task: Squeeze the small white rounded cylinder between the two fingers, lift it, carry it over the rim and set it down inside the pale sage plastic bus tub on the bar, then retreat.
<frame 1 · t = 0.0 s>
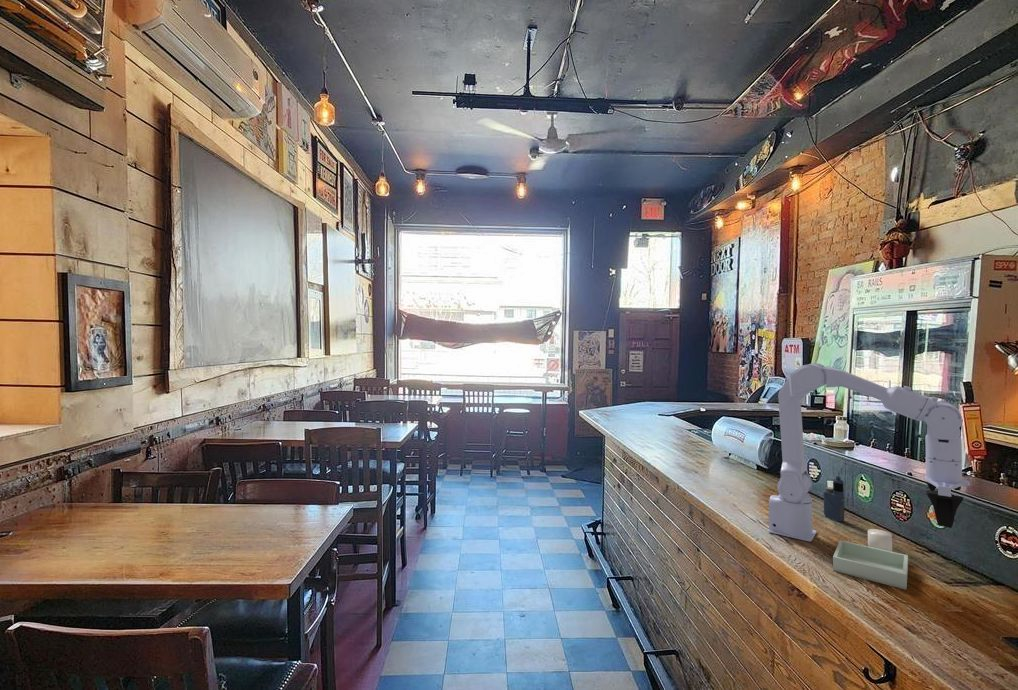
hand: (944, 520, 100), 10 cm above the table, tool pointing down, fingers open, 7 cm apart
white rounded cylinder: (880, 554, 106), on the table
vaping device: (834, 519, 128), on the table
bus tub: (870, 569, 99), on the table
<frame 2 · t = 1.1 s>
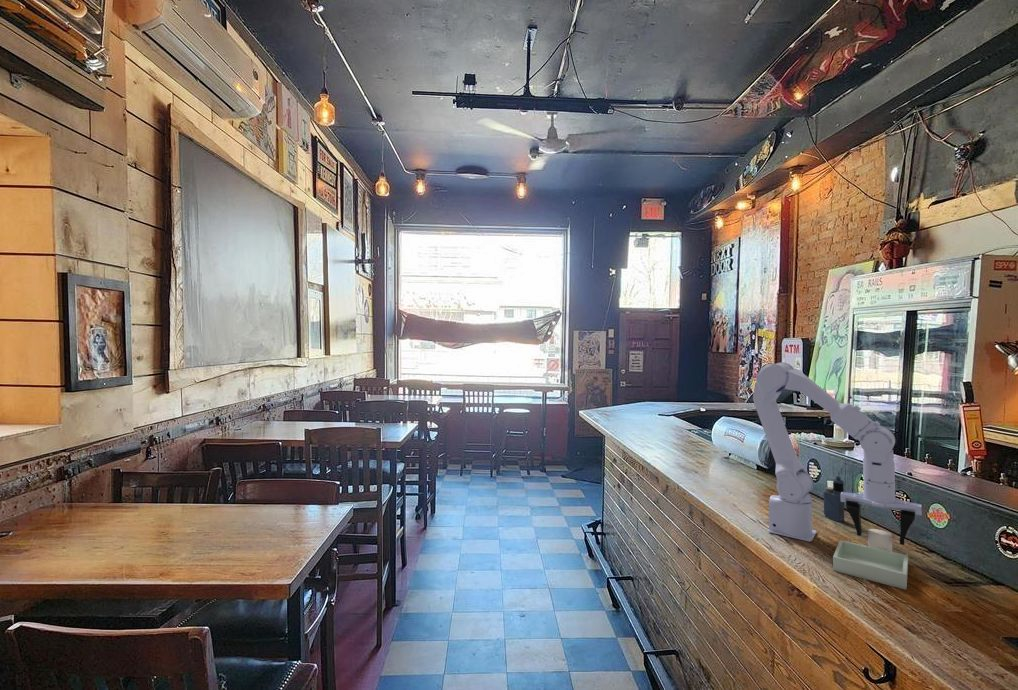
hand: (880, 538, 106), 4 cm above the table, tool pointing down, fingers open, 7 cm apart
nothing on the table moved.
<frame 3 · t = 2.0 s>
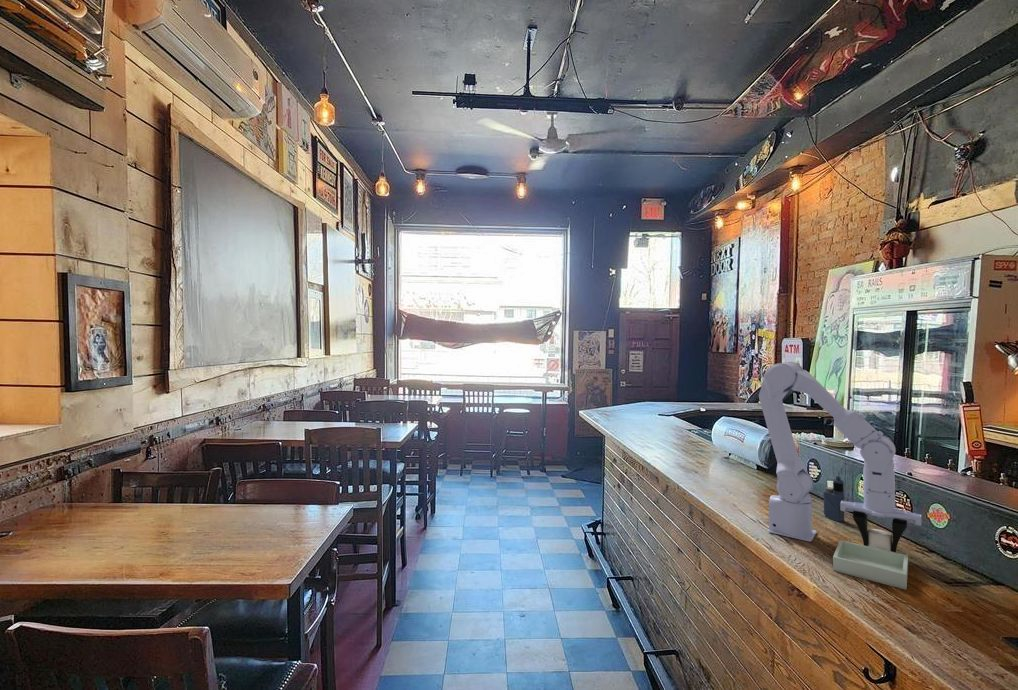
hand: (879, 548, 106), 1 cm above the table, tool pointing down, fingers closed on white rounded cylinder, 4 cm apart
white rounded cylinder: (880, 554, 106), on the table, touching gripper
everything else where it was.
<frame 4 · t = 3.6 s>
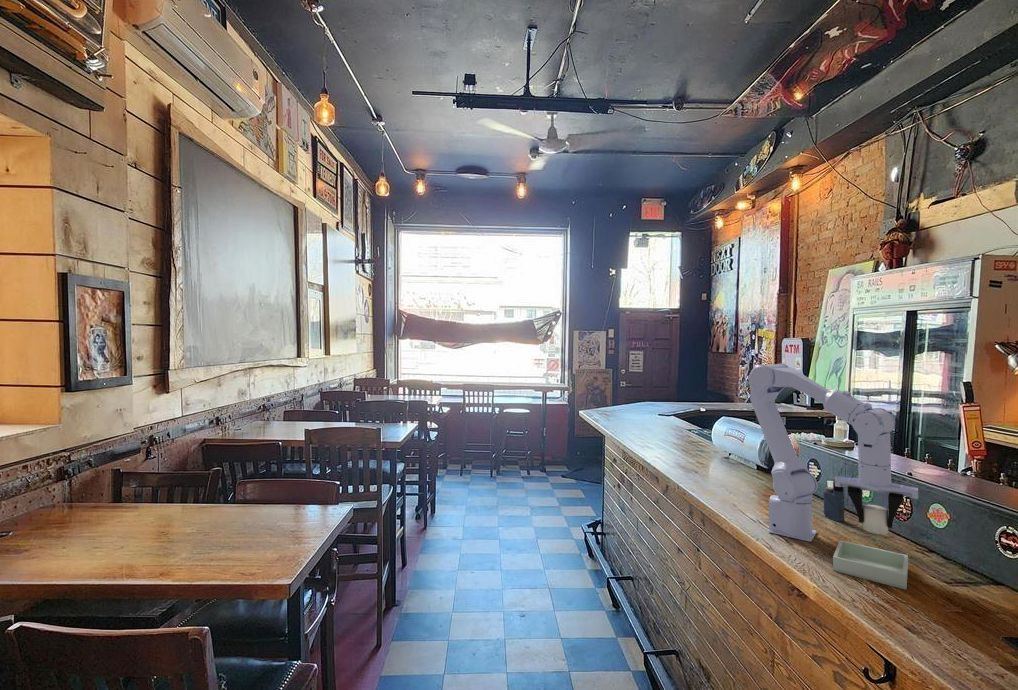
hand: (875, 523, 103), 8 cm above the table, tool pointing down, fingers closed on white rounded cylinder, 4 cm apart
white rounded cylinder: (875, 530, 103), point 7 cm above the table, touching gripper
everything else where it was.
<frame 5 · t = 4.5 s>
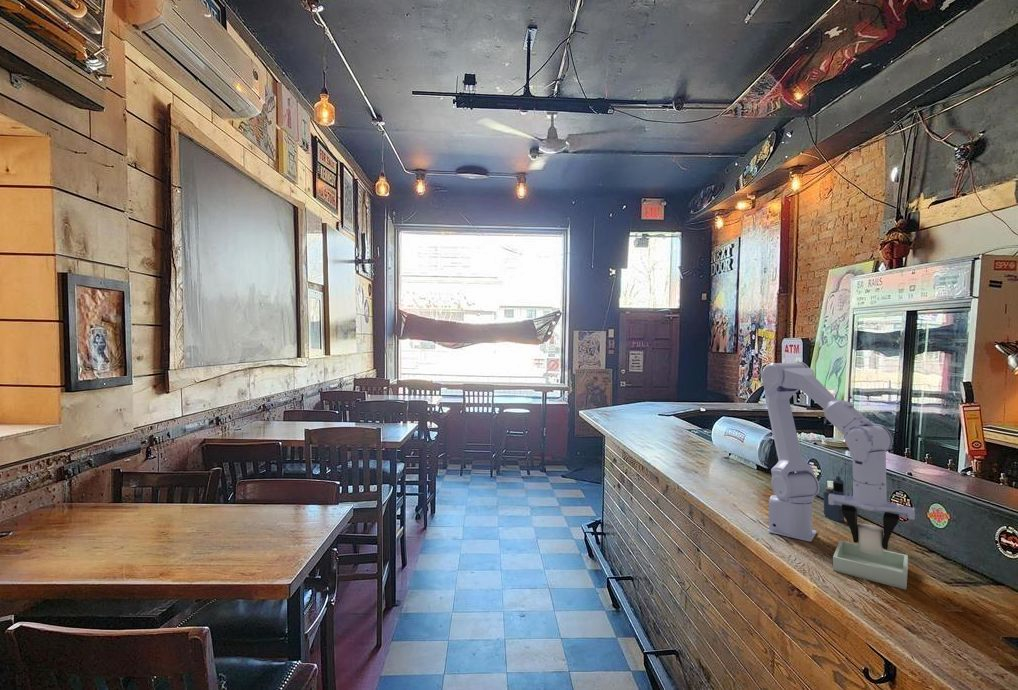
hand: (870, 544, 99), 6 cm above the table, tool pointing down, fingers closed on white rounded cylinder, 4 cm apart
white rounded cylinder: (870, 550, 99), point 4 cm above the table, touching gripper
everything else where it was.
when the fingers open (3 cm above the table, at t = 5.3 s): white rounded cylinder drops 2 cm, resting on bus tub.
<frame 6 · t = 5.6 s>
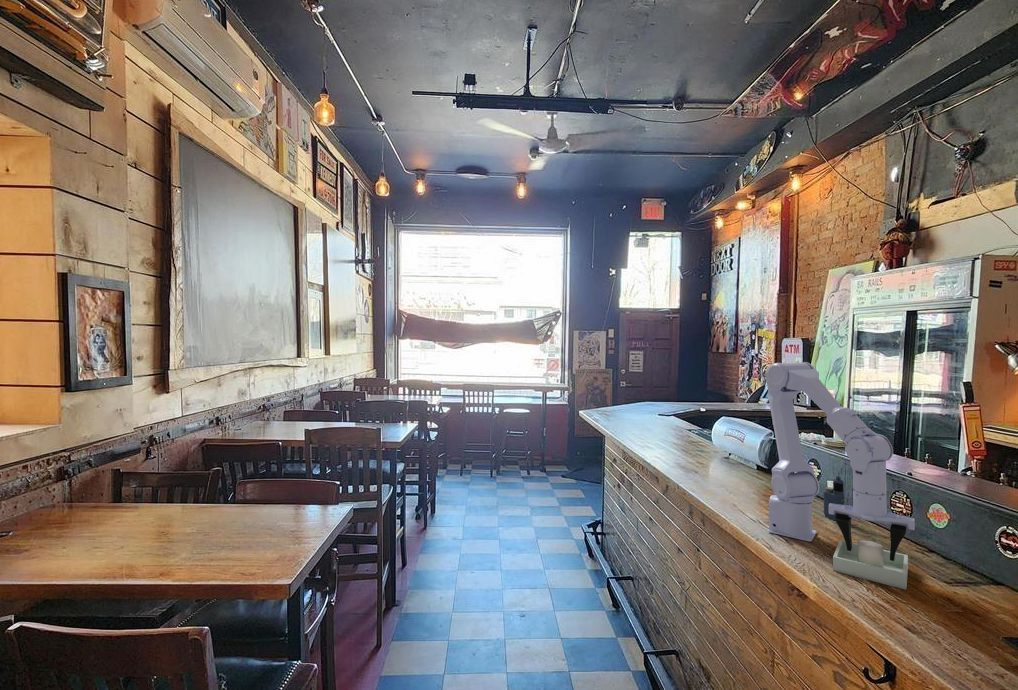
hand: (870, 554, 99), 3 cm above the table, tool pointing down, fingers open, 7 cm apart
white rounded cylinder: (870, 567, 99), resting on bus tub
everything else where it was.
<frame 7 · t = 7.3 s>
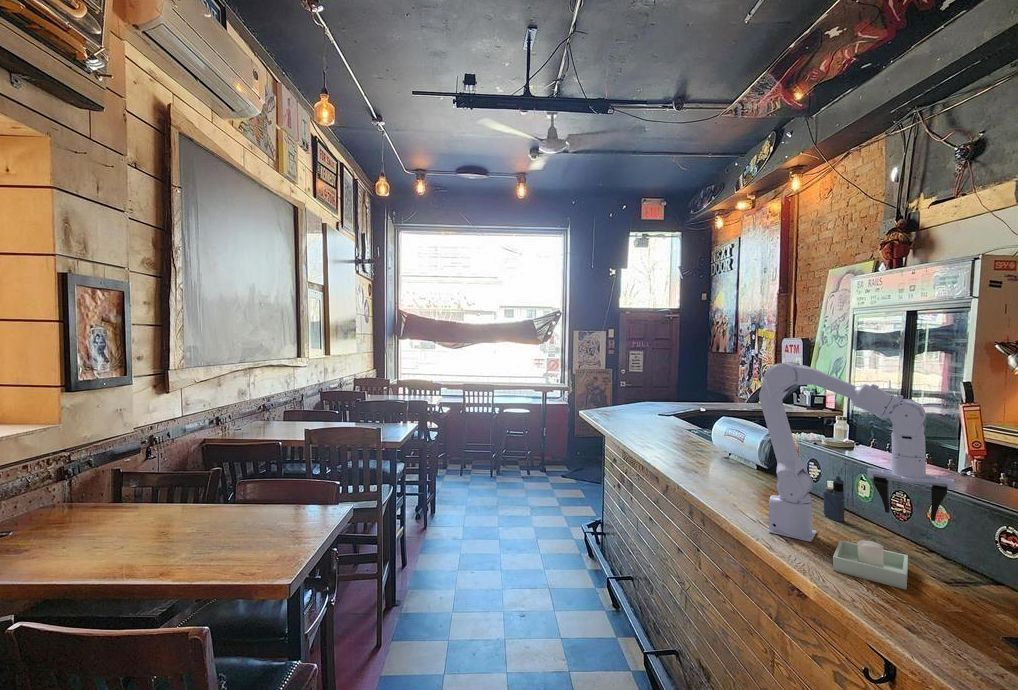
hand: (909, 515, 103), 10 cm above the table, tool pointing down, fingers open, 7 cm apart
nothing on the table moved.
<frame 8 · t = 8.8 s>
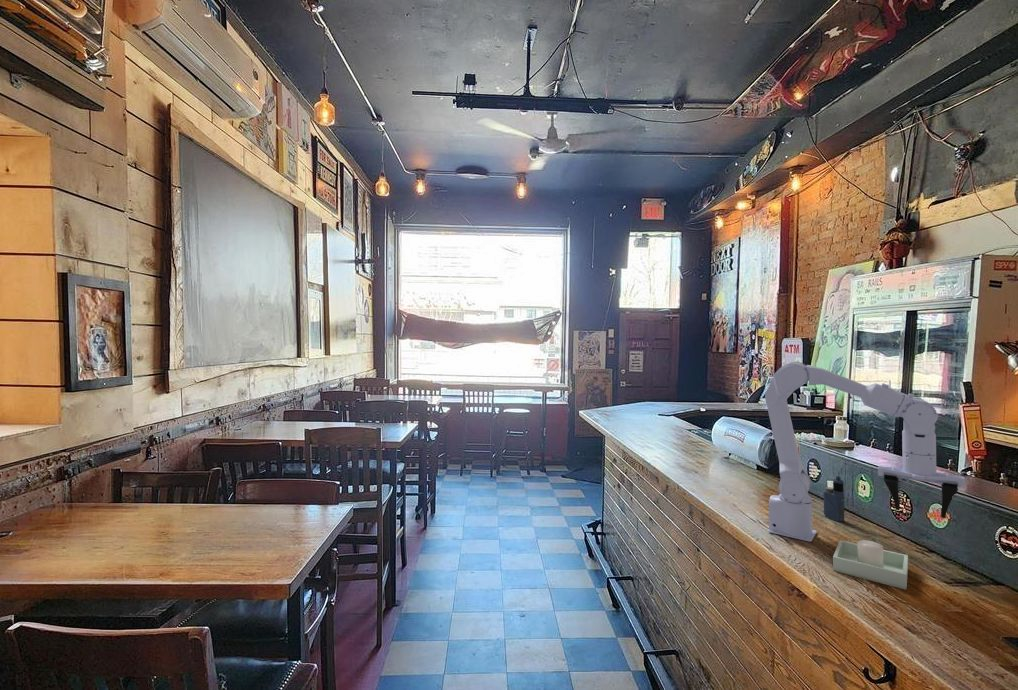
hand: (919, 512, 104), 10 cm above the table, tool pointing down, fingers open, 7 cm apart
nothing on the table moved.
at the end: white rounded cylinder inside the target area on the bus tub (0.1 cm from its centre), point 0.4 cm above the bus tub's base; white rounded cylinder tilted 1°; the gripper is holding nothing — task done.
